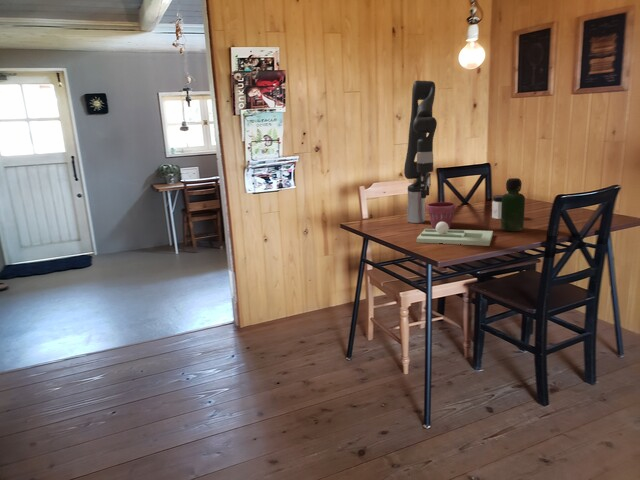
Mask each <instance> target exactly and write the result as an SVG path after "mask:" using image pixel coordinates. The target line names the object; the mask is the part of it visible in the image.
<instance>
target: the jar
mask: <svg viewBox="0 0 640 480" xmlns="http://www.w3.org/2000/svg"><path fill="white" fill-rule="evenodd" d="M503 195H504V194H495V195H493V197H492V202H491V203H492V204H491V210H492V211H491V218H492V219H496V220H501V207H502V196H503Z"/></svg>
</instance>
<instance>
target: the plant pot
mask: <svg viewBox="0 0 640 480" xmlns="http://www.w3.org/2000/svg"><path fill="white" fill-rule="evenodd" d="M426 212H427V213H428V217H429V220H430V221H429V222H430V225H431V229H436V225H437V224H438V223H439V222H445V223H447V224H448V226H449V230H451V227H452V221H453V217H454V213H455V212H456V204H455V202H449V201H441V202H439V201H438V202H437V201H436V202H430V203H428V204H426Z"/></svg>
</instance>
